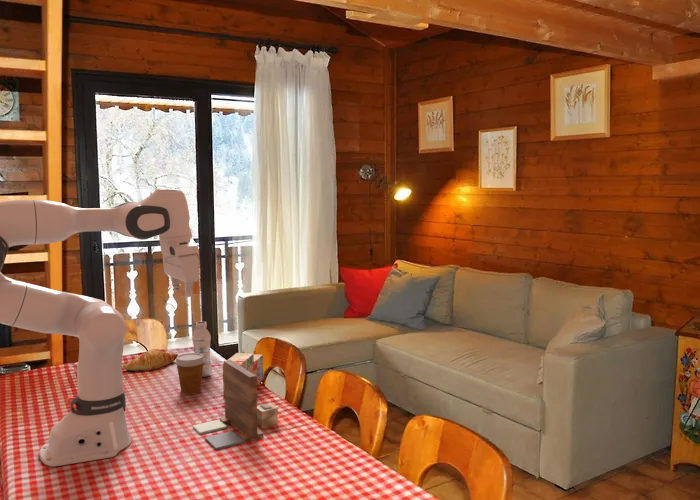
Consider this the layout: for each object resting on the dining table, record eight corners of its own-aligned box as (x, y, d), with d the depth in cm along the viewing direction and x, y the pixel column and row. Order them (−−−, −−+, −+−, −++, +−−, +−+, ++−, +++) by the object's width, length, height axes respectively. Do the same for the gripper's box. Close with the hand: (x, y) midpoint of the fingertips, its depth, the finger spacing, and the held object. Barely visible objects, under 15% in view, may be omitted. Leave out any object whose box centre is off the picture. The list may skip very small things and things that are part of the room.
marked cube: (262, 428, 178) (261, 411, 177) (254, 422, 182) (254, 405, 181) (277, 424, 181) (277, 407, 180) (270, 419, 185) (269, 402, 184)
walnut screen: (244, 442, 168) (242, 378, 166) (219, 421, 183) (217, 362, 181) (264, 437, 171) (263, 374, 169) (237, 417, 186) (236, 358, 184)
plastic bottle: (210, 379, 221) (208, 324, 219) (191, 379, 221) (189, 324, 219) (214, 373, 227) (212, 320, 225) (195, 373, 228) (194, 320, 225)
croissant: (126, 382, 228) (129, 366, 224) (117, 364, 234) (119, 348, 231) (181, 370, 242) (184, 354, 238) (170, 353, 248) (173, 338, 244)
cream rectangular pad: (200, 434, 173) (199, 432, 173) (192, 427, 178) (192, 425, 178) (226, 428, 178) (226, 426, 178) (219, 421, 183) (218, 419, 183)
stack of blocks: (247, 378, 222) (246, 345, 220) (263, 379, 221) (263, 346, 219) (223, 399, 201) (222, 362, 200) (241, 401, 200) (240, 363, 198)
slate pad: (216, 450, 163) (216, 447, 163) (205, 439, 170) (205, 437, 170) (244, 442, 168) (244, 440, 168) (232, 432, 174) (232, 430, 174)
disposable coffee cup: (170, 394, 206) (169, 359, 205) (187, 385, 215) (186, 351, 213) (194, 397, 203) (193, 362, 201) (210, 388, 211) (210, 354, 210)
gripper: (154, 244, 180) (161, 290, 182) (177, 251, 163) (184, 301, 165) (176, 240, 183) (182, 286, 185) (200, 247, 166) (206, 297, 168)
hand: (183, 293), depth 175 cm, fingers open, 8 cm apart
